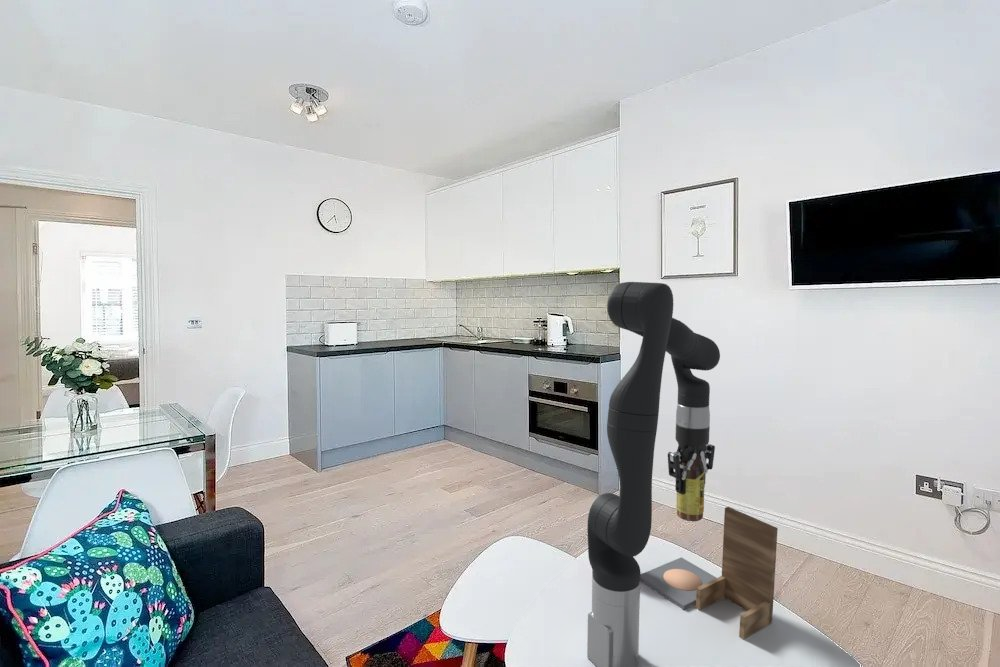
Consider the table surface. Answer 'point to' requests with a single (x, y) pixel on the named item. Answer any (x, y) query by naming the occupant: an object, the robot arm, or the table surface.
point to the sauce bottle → (692, 491)
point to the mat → (677, 581)
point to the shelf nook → (745, 571)
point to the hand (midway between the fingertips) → (690, 489)
